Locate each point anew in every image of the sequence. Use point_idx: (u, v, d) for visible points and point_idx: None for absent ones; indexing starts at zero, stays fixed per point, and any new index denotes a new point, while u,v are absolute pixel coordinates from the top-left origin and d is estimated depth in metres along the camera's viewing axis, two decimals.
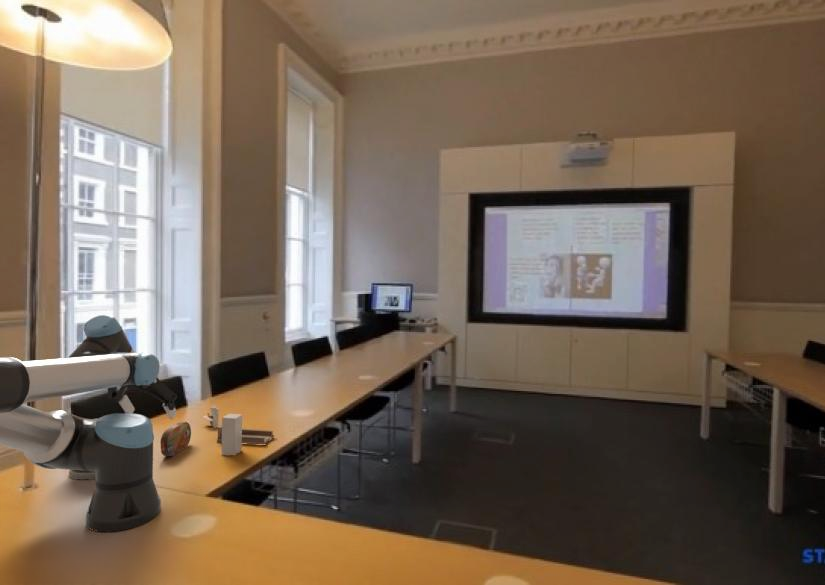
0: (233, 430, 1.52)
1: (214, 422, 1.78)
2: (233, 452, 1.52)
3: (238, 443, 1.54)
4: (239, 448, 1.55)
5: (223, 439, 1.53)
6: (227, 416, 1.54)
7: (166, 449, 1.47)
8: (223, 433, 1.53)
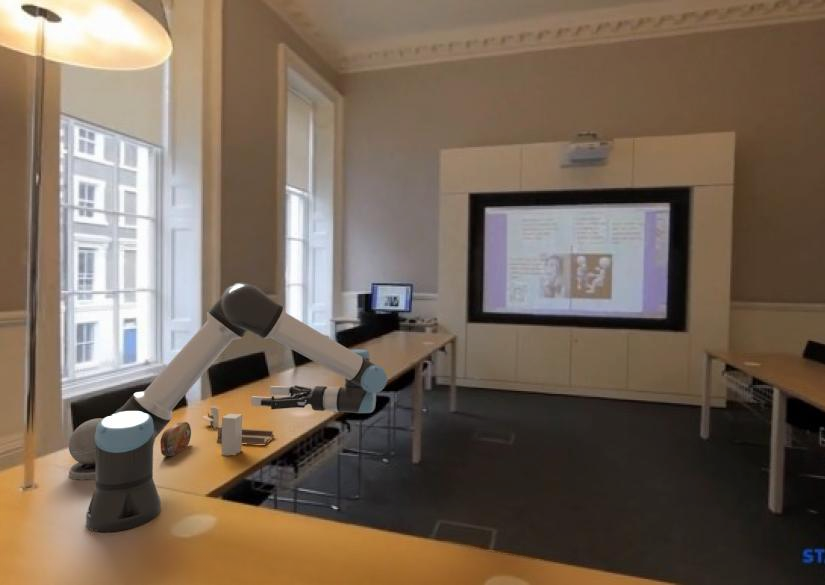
0: (233, 430, 1.52)
1: (214, 422, 1.79)
2: (233, 452, 1.52)
3: (238, 443, 1.54)
4: (239, 448, 1.55)
5: (223, 439, 1.53)
6: (227, 416, 1.54)
7: (166, 449, 1.47)
8: (223, 433, 1.53)
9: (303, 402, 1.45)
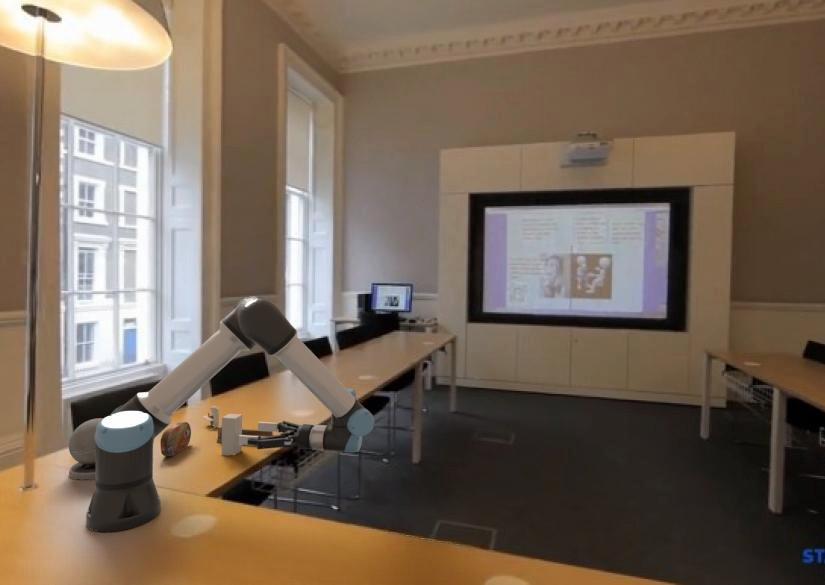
0: (233, 430, 1.52)
1: (214, 422, 1.79)
2: (233, 452, 1.52)
3: None
4: (239, 448, 1.55)
5: (223, 439, 1.53)
6: (227, 416, 1.54)
7: (166, 449, 1.47)
8: (223, 433, 1.53)
9: (289, 442, 1.46)
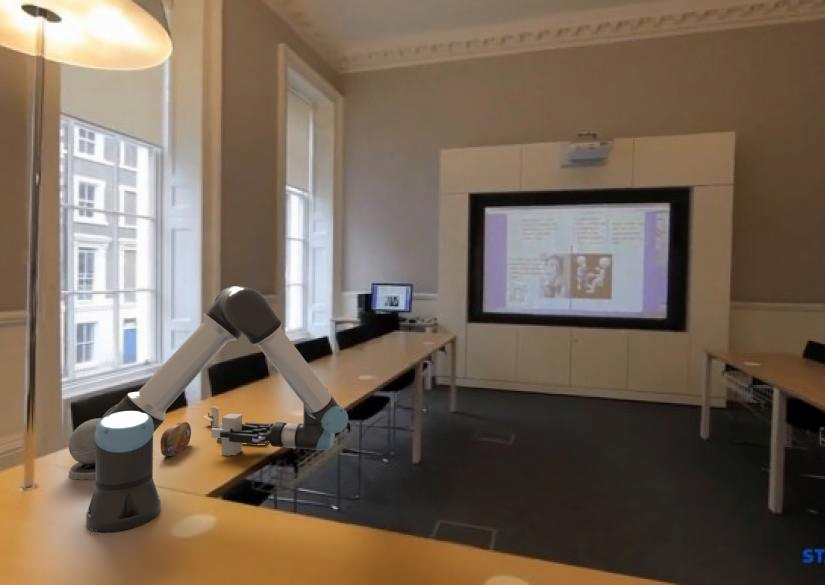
0: (233, 430, 1.52)
1: (214, 422, 1.79)
2: (233, 452, 1.52)
3: (238, 443, 1.54)
4: (239, 448, 1.55)
5: (223, 439, 1.53)
6: (227, 416, 1.54)
7: (166, 449, 1.47)
8: None
9: (256, 439, 1.47)
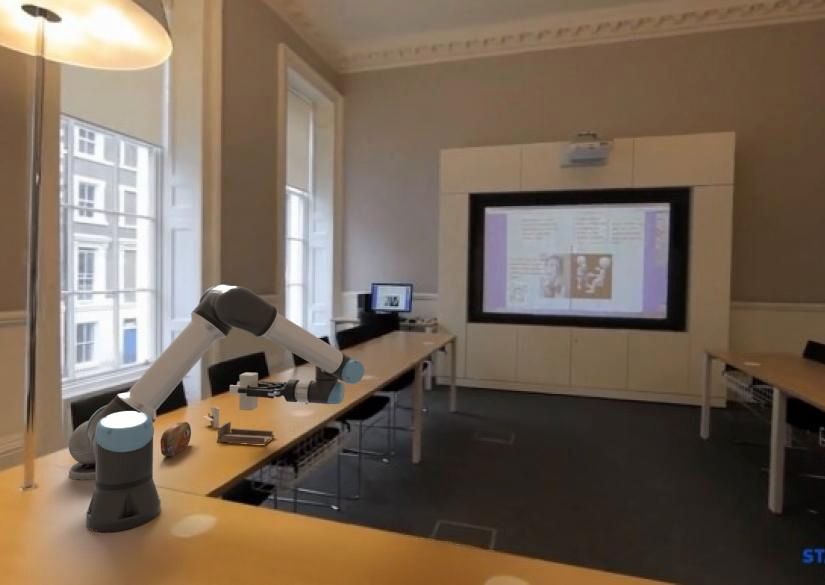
0: (250, 386, 1.63)
1: (214, 422, 1.79)
2: (250, 407, 1.64)
3: (254, 399, 1.66)
4: (255, 404, 1.67)
5: (241, 395, 1.64)
6: (244, 374, 1.65)
7: (166, 449, 1.47)
8: None
9: (271, 393, 1.58)
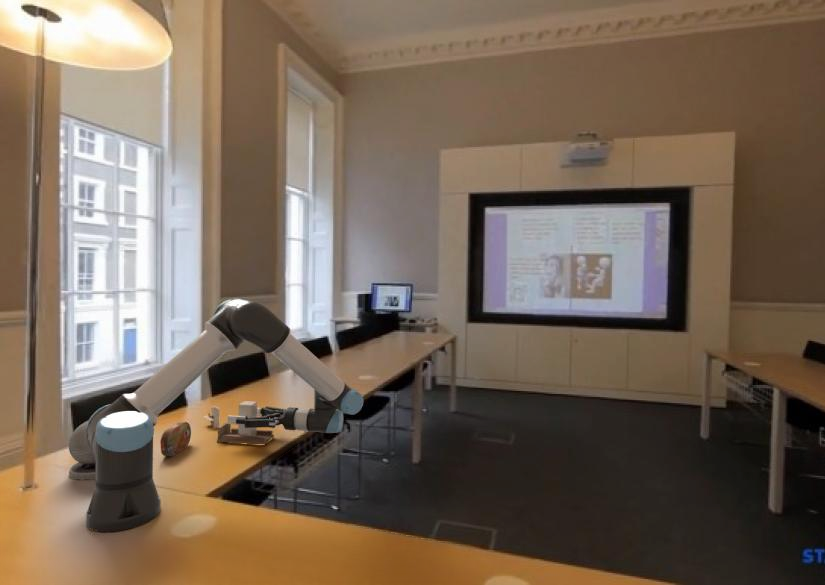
0: (249, 416, 1.64)
1: (215, 422, 1.79)
2: None
3: (253, 428, 1.66)
4: (254, 433, 1.67)
5: None
6: (243, 403, 1.66)
7: (166, 449, 1.47)
8: None
9: (273, 423, 1.58)
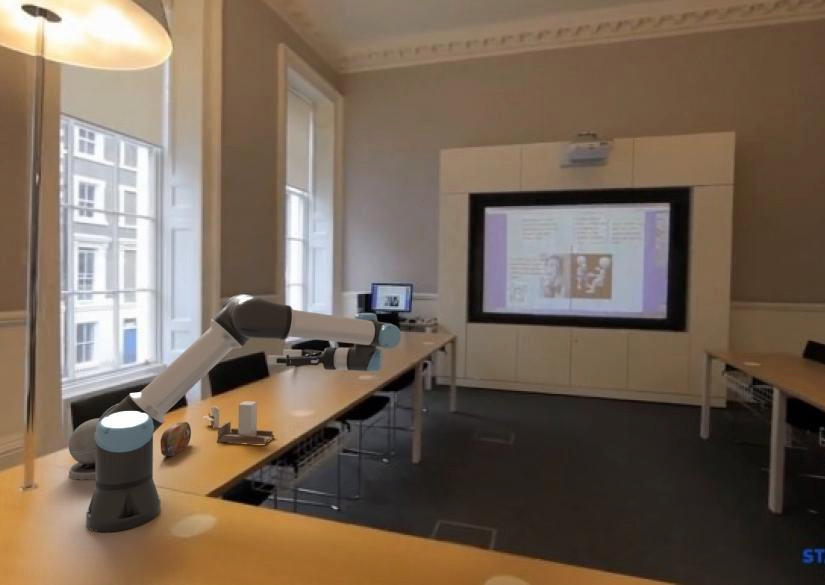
0: (249, 416, 1.64)
1: (215, 422, 1.79)
2: None
3: (253, 428, 1.66)
4: (254, 433, 1.67)
5: (240, 424, 1.64)
6: (243, 403, 1.66)
7: (166, 449, 1.47)
8: (240, 419, 1.64)
9: (316, 360, 1.56)
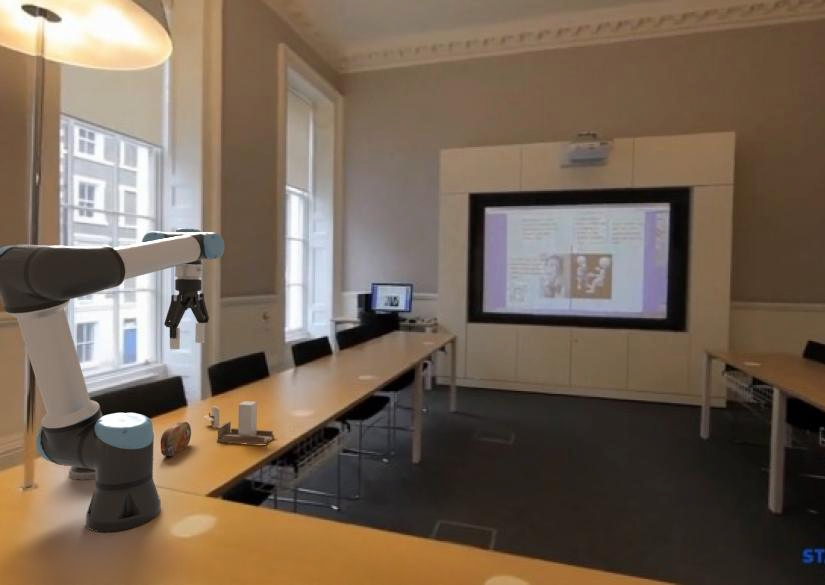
0: (249, 416, 1.64)
1: (215, 422, 1.79)
2: None
3: (253, 428, 1.66)
4: (254, 433, 1.67)
5: (240, 424, 1.64)
6: (243, 403, 1.66)
7: (166, 449, 1.47)
8: (240, 419, 1.64)
9: (174, 295, 1.44)
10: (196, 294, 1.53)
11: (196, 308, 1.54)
